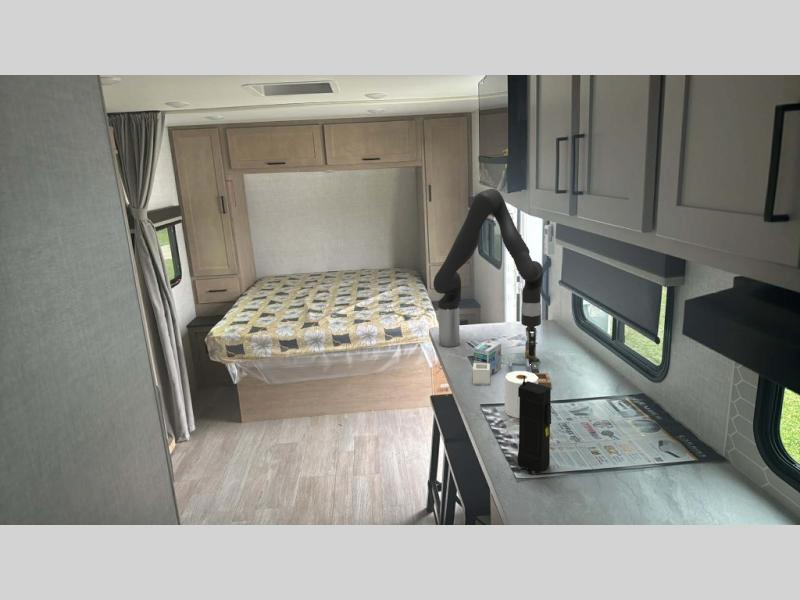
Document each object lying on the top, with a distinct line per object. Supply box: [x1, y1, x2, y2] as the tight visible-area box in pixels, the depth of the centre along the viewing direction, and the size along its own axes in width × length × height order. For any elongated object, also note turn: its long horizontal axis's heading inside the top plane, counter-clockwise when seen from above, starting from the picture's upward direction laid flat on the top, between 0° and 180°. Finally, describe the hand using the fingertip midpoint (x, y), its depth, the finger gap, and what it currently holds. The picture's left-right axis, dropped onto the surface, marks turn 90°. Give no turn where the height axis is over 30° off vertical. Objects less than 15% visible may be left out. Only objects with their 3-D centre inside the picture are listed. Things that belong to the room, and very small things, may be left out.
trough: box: [534, 372, 552, 389], centre depth 187 cm, size 8×8×2 cm
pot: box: [472, 362, 491, 386], centre depth 191 cm, size 6×6×6 cm
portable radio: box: [517, 376, 552, 474], centre depth 135 cm, size 8×6×25 cm
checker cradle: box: [505, 357, 541, 374], centre depth 198 cm, size 11×12×4 cm
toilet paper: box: [504, 371, 538, 419], centre depth 166 cm, size 10×10×12 cm
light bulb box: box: [473, 340, 502, 377], centre depth 200 cm, size 11×7×11 cm, turn 143°
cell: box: [524, 340, 537, 364], centre depth 206 cm, size 4×4×9 cm
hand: (530, 351), depth 206 cm, fingers open, 8 cm apart
